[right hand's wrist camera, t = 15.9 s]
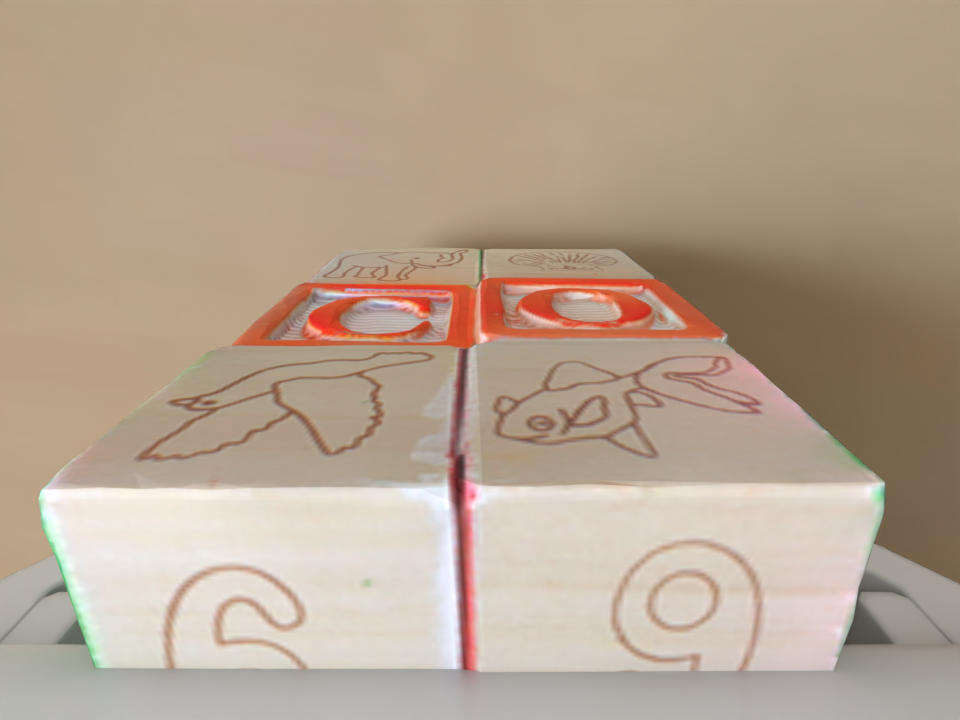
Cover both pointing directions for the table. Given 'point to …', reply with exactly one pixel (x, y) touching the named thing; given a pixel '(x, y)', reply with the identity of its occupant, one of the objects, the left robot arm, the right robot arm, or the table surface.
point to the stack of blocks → (468, 486)
